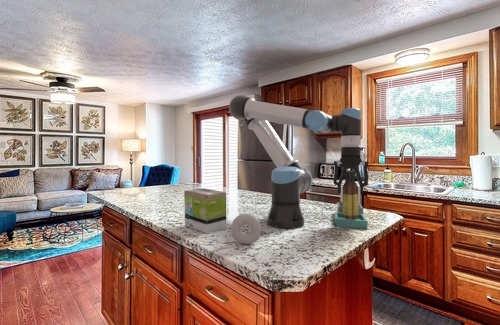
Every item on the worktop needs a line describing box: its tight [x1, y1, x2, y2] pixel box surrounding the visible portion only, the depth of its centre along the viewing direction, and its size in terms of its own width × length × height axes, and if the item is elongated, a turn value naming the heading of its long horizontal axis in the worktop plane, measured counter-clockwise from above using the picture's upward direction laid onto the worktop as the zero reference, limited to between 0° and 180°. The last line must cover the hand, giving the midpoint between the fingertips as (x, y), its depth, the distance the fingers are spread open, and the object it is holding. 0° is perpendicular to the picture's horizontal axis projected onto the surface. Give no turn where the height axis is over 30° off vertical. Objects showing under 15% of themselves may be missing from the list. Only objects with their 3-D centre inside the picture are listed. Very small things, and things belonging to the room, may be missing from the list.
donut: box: [230, 213, 263, 245], centre depth 85 cm, size 10×4×10 cm, turn 85°
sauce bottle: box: [341, 170, 359, 220], centre depth 109 cm, size 7×6×20 cm
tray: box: [334, 211, 369, 230], centre depth 110 cm, size 12×13×3 cm
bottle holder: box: [336, 202, 364, 215], centre depth 123 cm, size 11×11×5 cm
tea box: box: [183, 187, 227, 234], centre depth 104 cm, size 15×10×15 cm, turn 47°
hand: (350, 201), depth 109 cm, fingers closed on sauce bottle, 6 cm apart
